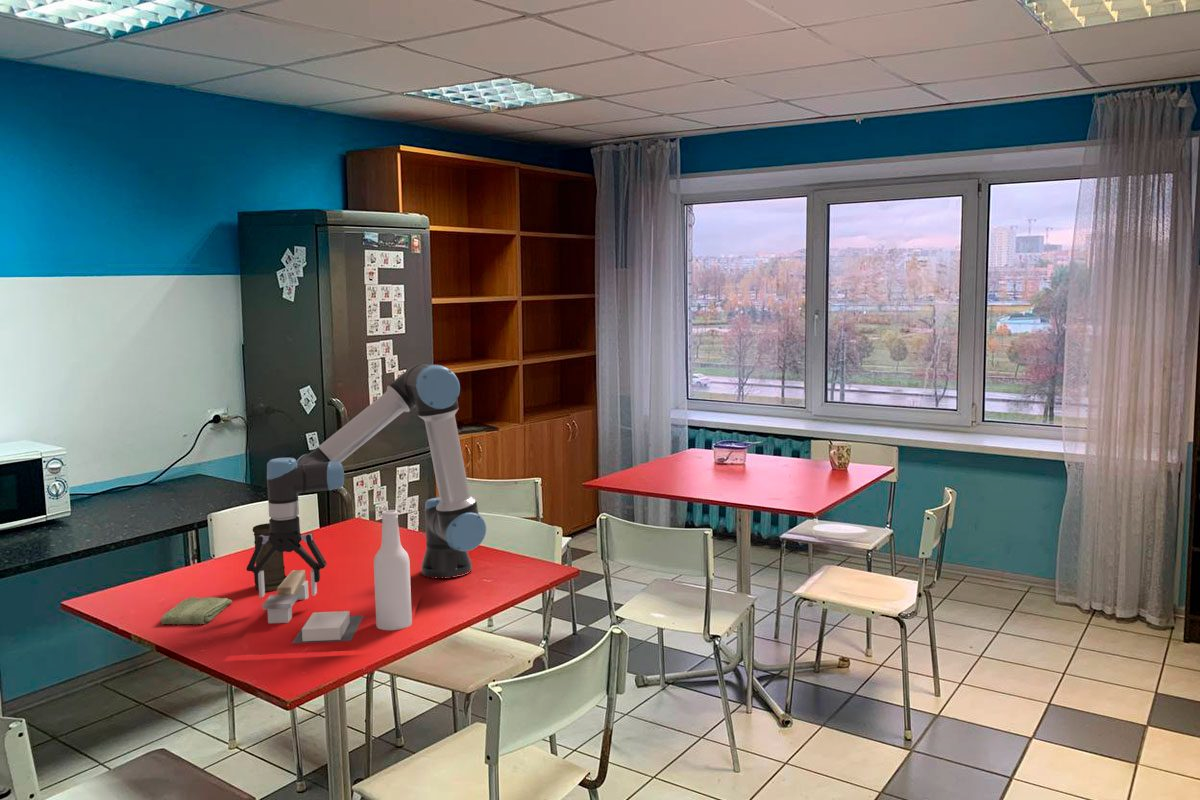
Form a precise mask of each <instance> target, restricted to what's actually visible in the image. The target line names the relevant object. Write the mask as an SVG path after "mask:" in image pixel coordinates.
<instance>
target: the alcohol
mask: <svg viewBox="0 0 1200 800" xmlns="http://www.w3.org/2000/svg"><path fill="white" fill-rule="evenodd" d="M398 512H399V511H397V510H396V509H387V510H383V511H382V512H381V520H382V521H381V523H382V524H381V545H380V548H379V549H378V551H377V552H376V553H375V556H374V558H373V575H374V576H373V577H374V598H375V599H374V600H375V601H374V603H375V605H374V606H375V627H376V628H377V629H379V630H382V631H397V630H402V629H407V628H408V627H411V626H412V625H413V620H412V619H413V615H412V592H411V589H412V588H411V566H410V563H411V562H410V557H409V556H410V555H409V553H408V552H407V551H406V550H405V549H404V547H403V546H402V543H401V537H400V536H401V535H400V529H399V520H398V518H399V516H398V514H399V513H398Z"/></svg>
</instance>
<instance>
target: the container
mask: <svg viewBox="0 0 1200 800" xmlns="http://www.w3.org/2000/svg"><path fill="white" fill-rule="evenodd" d="M252 533H253V536H254V550H255V549H256V546H257V540H258V537H259V536H260V535H262V534H263V535H264V536H270V524H269V522H268V523H260V524H258V525H255V526H253V527H252ZM272 547H273V546H272V545H271V543H270V542H269V541H267V542H266V543H265V544H264V545H263V548H262V550H261V552H260V554H259V556H258V559H257V561H256V563H255V566H257V565H258V564H259V563H260V562H261V560H262V559H263V558H264V557H265V556H266V554H267V553H268V552H269V550H270V549H271V548H272ZM285 569H286V567H285V561H284V552H278V551H277V550H276V551H275V552H274V554H273V555H272V556H271V557H270V558H269V560H268V561H267V562H266V563H265V565H264V566H263V567H262V568H261V570H260V571H264V584H265V592H269V591H270V592H272V591H277V588H278V586H279V585H280V584H281V583H282V582H283V581H284V579H285V578H286V577H287V575H286V571H285ZM254 587H255V589H256V590H258V591H259V585H256V584H255V583H254Z"/></svg>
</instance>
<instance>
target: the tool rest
mask: <svg viewBox="0 0 1200 800" xmlns="http://www.w3.org/2000/svg"><path fill="white" fill-rule="evenodd" d="M295 594H298V599H297V601H298V600H299V601H300V600H301V601H302V600H308V598H310V597H309V596H310V595H309V580H305V582H304V583H303V584H302V586H301V587H300V588H299V589H298V591H297V592H296V593H295ZM266 610H267V623H268V624H283V623H284V624H288V623H289V622H290V621H291V620H292V619H293V606H292V607H291V608H287V609H266Z"/></svg>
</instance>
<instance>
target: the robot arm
mask: <svg viewBox="0 0 1200 800" xmlns="http://www.w3.org/2000/svg"><path fill="white" fill-rule="evenodd" d="M460 392H461V385H460V381H459V378H458V377H457V375H456V374H455V373H454V372H453V371H452V370H451V369H450V368H448V367H446V366H443V365H440V364H431V363H427V362H426V363H424V362H423V363H422V362H421V363H417V364H415V365H412V366H411V367H409V368H408V369H406V370H405V371H404V372H403V373H402V374H401V375H400V376H398V377H397V378H396V379H395V380H394V381H392V382H391V383H390V384H388V385H387V387H386V391H385V392H384V393H383V394H382V395H380V396H379V397H378V398H377V399H376V400H374V401H373V402H371V404H369V405H368V406H367V407H366V408H364V409H363V410H362V411H361V412H359V413H358V414H357V415H356V416H355V417H353V418H352V419H351V420H349V421H348V422H347V423H346V424H344V425H343V426H342V427H341V428H340V429H338V430H336V432H335V433H333V434H332V435H331V436H329V438H327V439H326V440H325V441H323V442H322V443H321V444H320V445H318V446H317V447H316V448H314V450H312V451H311V452H310V453H305V454H302V455H301V456H300V457H298V459H296V458H294V457H278V458H277V457H276V458H271V459H269V461H268V462H267V463H266V484H267V486H266V488H267V499H268V517H269V521H268V523H269V524H270V536H264V535H263V534H262V535H260V536H259V537H258V540H257V546H256V549H255V548H254V551H253V553H252V556H251V558H250V560H249V562H248V564H247V566H246V568H245V569H246V571H247V572H252V573H253V576H254V577H253V579H254V585H255V584H256V585H259V590H258V597H259V598H263V597H264V596H265V595H266V591H265V584H264V571H260V570H261V568H262V567H263V566H264V565H265V563H266V562H267V561H268V560H269V558H270V557H271V556H272V555H273V554H274V552H275V551H276V550H277V551H278V552H283V553H285V552H286V553H292V552H294V553H295V554H298V555H299V557H300V558H301V559H302V560H303V561H304V562H305V563H306V564H307V565H308V566H309V567H310V568H311V570H310V584H311V596H313V597H314V596H316V595H317V594H318V588H317V587H318V586H317V584H318V583H319V582H320V580H321V569H322V570H323V569H324V568H326V566H327V563H328V562H327V561H326V560H325V558H324V556H323V554H322V553H321V551H320V549H319V547H318V546H317V544H316V542H315V540H314V534H313V533H312V532H308V533H307V534H301V526H300V517H299V516H298V515H299V514H300V507H299V505H300V504H299V494H302V493H303V494H304V493H311V492H312V493H313V492H322V491H332V490H338V489H341V488H343V486H344V484H345V471H344V466H343V464H342V462H344V461H345V460H346V459H347V458H348V457H350V456H351V455H352V454H354V452H356V451H357V450H358V449H360V448H361V447H362V446H363V445H365V443H367V442H368V441H369V440H370V439H372V438H373V437H375V436H376V435H377V434H378V433H379V432H380V431H381V430H383V429H384V428H385V427H387V426H388V425H389V424H390V423H391V422H393V421H394V420H395V419H396V418H398V417H399V416H400V415H401V414H403V413H409V412H410V411H412V410H413V409H415V408H416V412H417V417H419V418H420V419H422V420H423V421H424V425H425V429H426V435H427V441H428V445H429V450H430V455H431V460H432V465H433V472H434V476H435V482H436V487H437V490H438V491H437V492H438V497H433V498H429V499H427V500H426V501H425V502H424V503H425V505H424V517H425V518H424V520H425V539H426V540H425V545H426V547H425V548H426V550H425V551H424V556H423V559H422V563H421V569H420V571H421V575H422V574H423V575H425V576H428V577H427V578H429V577H434V578H433V579H435V577H437V578H442V577H443V578H445V577H453V576H457V575H462V574H465V573H467V572H469V571H470V570H471V569H472V567H473V566H472V560H471V558H470V555H469V551H472V550H474V549H476V548H477V547H478V546H480V545H481V543H482V542H483V541H484V539H485V536H486V534H487V525H486V522H485V519H484V518H483V516H481V515H480V514H479V513H480V512H479V508H478V504H477V499H476V498H475V497H474V496H472V494H470V489H469V484H468V478H467V473H466V468H465V464H464V463H465V462H464V458H463V457H464V456H463V452H462V447H461V441H460V436H459V431H458V425H457V421H456V420H457V419H456V414H457V412H458V410H459V409H460V408H459V407H460V406H459V401H458V397H459V396H460V394H461V393H460ZM302 540H303V541H304V543H306V545H307V546H308V549H309V550H310V553H312V555H313V557H312V555H311V554H310V553H308V552H307V550H306V549H304V546H303V545H302V544H301V541H302ZM267 541H269V542H270V543H271V545H272V546H273V547H272V548H271V549H270V550H269V552H268V553H267V554H266V556H265V557H264V558H263V559H262V560H261V562H260V563H259V564H258V565H257V566H256V561H257V559H258V556H259V554H260V552H261V550H262V548H263V545H264V544H265V543H266V542H267ZM472 570H473V569H472ZM423 575H422V576H423ZM425 576H424V577H425Z"/></svg>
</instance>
